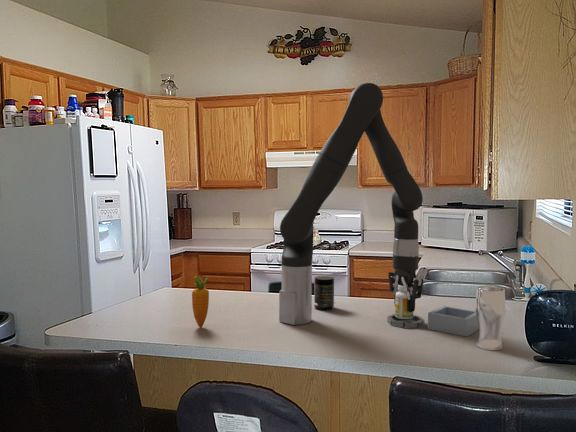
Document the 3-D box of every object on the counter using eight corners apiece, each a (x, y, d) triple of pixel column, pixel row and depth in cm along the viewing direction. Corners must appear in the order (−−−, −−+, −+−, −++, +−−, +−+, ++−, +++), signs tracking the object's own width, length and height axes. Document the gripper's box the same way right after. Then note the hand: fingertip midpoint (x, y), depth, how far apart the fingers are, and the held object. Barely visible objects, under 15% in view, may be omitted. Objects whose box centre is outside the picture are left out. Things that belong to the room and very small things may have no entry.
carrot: (212, 326, 137) (212, 275, 136) (204, 330, 132) (203, 278, 132) (197, 324, 139) (197, 274, 138) (188, 329, 134) (188, 277, 133)
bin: (466, 336, 128) (467, 319, 128) (427, 328, 136) (428, 312, 135) (481, 327, 137) (481, 312, 136) (443, 320, 144) (444, 305, 144)
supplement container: (338, 309, 157) (338, 278, 157) (321, 311, 154) (321, 280, 153) (326, 305, 163) (326, 275, 163) (310, 307, 160) (310, 277, 159)
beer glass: (502, 352, 115) (503, 292, 114) (472, 347, 119) (473, 289, 118) (505, 345, 121) (507, 287, 120) (477, 340, 125) (478, 284, 124)
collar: (413, 330, 134) (413, 324, 134) (382, 323, 140) (382, 318, 140) (428, 322, 141) (428, 317, 141) (398, 316, 148) (398, 312, 148)
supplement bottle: (416, 316, 142) (416, 285, 142) (409, 320, 138) (410, 288, 138) (399, 313, 146) (399, 282, 145) (392, 317, 141) (392, 285, 141)
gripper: (381, 251, 146) (380, 304, 147) (411, 257, 133) (409, 316, 134) (400, 250, 149) (399, 302, 150) (431, 256, 136) (430, 313, 137)
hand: (404, 308), depth 142 cm, fingers closed on supplement bottle, 5 cm apart
